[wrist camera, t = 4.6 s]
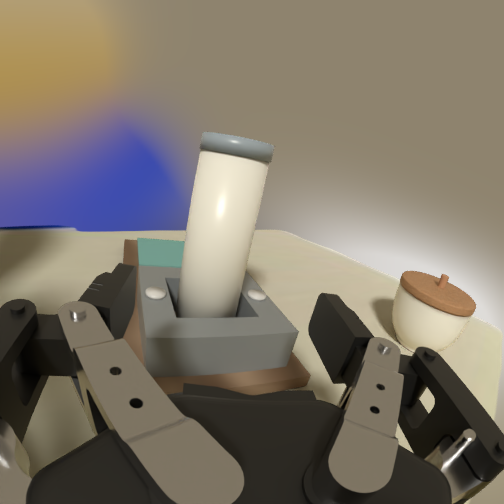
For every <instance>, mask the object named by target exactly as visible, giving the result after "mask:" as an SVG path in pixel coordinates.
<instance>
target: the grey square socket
mask: <svg viewBox="0 0 504 504" xmlns="http://www.w3.org/2000/svg"><path fill="white" fill-rule="evenodd" d="M180 273H181V268H173V267H155V266H139V268H138V285H137V306H138V317H139V327H140V336H141V345H142V353H143V360H144V367H145V368H146V370H147V371H148V372H149V374H150V375H151V376H152V377H178V376H199V375H214V374H226V373H237V372H247V371H256V370H264V369H272V368H279V367H286V366H287V363H288V361H289V358H290V355H291V352H292V350H293V347H294V344H295V341H296V338H297V335H298V333H299V331H298V330H297V329H296V328H295V327H294V326H293V325H292V323H291V322H290V321H289V320H288V319H287V318H286V317H285V315H284V314H283V313H282V312H281V311H280V310H279V308H278V307H277V306H276V305H275V304H274V303H273V302H272V300H271V299H270V298H269V297H268V296H267V295H266V294H265V292H264V291H263V290H262V289H261V288H260V287H259V285H258V284H257V283H256V282H255V281H254V280H253V278H252V277H251V276H250V275H249V274H248V273H247V271H245V276H244V280H243V285H242V289H241V294H240V298H239V303H238V307H237V312H236V317H235V318H176V315H175V312H176V307H177V298H178V289H179V281H180ZM174 311H175V312H174Z"/></svg>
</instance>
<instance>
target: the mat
mask: <svg viewBox="0 0 504 504" xmlns="http://www.w3.org/2000/svg"><path fill="white" fill-rule="evenodd" d="M137 243H138V260H139V266H155V267H173V268H181V265H182V258H183V250H184V243H185V241H173V240H159V239H146V238H138V239H137Z"/></svg>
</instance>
